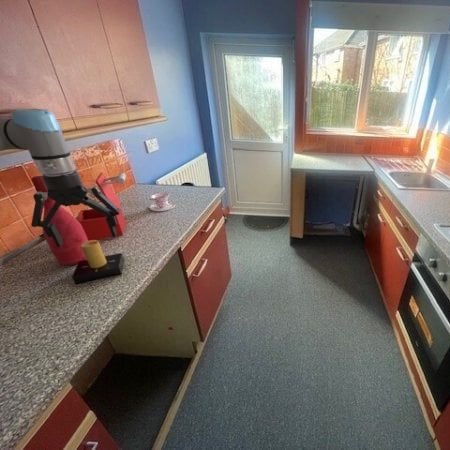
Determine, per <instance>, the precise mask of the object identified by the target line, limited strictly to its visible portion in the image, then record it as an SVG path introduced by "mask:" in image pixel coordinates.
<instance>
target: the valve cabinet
mask: <svg viewBox="0 0 450 450" xmlns="http://www.w3.org/2000/svg"><path fill="white" fill-rule="evenodd" d="M104 207H105V208H107V207H106V206H104ZM107 209H108V208H107ZM119 209H120V213H119V215H116V216H115V218H116V221H117V226H115V229H116V232H117V235H116V237H120V236H124V234H125V229H126V224H127V222H126V220H125V217H124V213H123V210H122V207H121V206H120V207H119ZM75 218H76V219H77V220H78V222H79V223H80V224H81V226H82V227H83V229H84V232H85V234H86V236H87V239H88V241H90V240H102V239H103V240H104V239H108V238H114V237H113V236H112V234H111V231H110V228H109V226H108V223H107V221H106V218H107V216H105V215H103V214H101V213H100V212H98V211H96V210H94V209H92V208H88V209H82V210H80V211H79V212H78V214H77V216H76V217H75Z"/></svg>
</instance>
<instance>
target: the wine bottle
mask: <svg viewBox="0 0 450 450" xmlns="http://www.w3.org/2000/svg"><path fill="white" fill-rule="evenodd" d="M41 177H42V175H36V176H32V178H31V183H32V184H33V187H34V189H35V191H36V192H38V191H41V192H42V193H46V192H48V190H47V188H46V186H45V184H44V182H43V180H42V178H41ZM55 202H56V201H54V200H52V199H51V198H49V197H47V199H46V200H45V202H44V207H43V215H42V221H44V220H45V218H46V216H47V215H48V213H49V212H50V210H51V208H52V207H53V205H54V203H55ZM53 223H54V224H55V226H56V228H57V230H58V232H59V234H60V236H61V238H62V240H63V244H62V245H61V247H57V246H56V244H55V242H54V240H53V238H52V237H48V236H47V235H46V233H45V231H44V229H43V228H42V234H43V237H44V240H45V241H46V243H47V245H48V247H49V249H50V250H51V252H52V254H53V256H54V257H55V259H56V260H57V262H58V263H59V265H62V266H71V265H78V262H79V261H83V260H87V259H86V256H85V254H84V252H83V250H82V248H81V244H82V243H84V242H86V241H88V239H87V236H86V234H85V232H84V229H83V227H82V226H81V224H80V223H79V222H78V220H77V219H76V217H75V216H74V215H72V214H71V212H69V211H67V210H66V209H65V208H64V207H63V206H62V205H61V206H60V208H59V209H58V211H57V212H56V214H55V215H54V217H53V219H52V220H51V222H50V223H49V224H53Z"/></svg>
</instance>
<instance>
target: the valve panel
mask: <svg viewBox="0 0 450 450" xmlns="http://www.w3.org/2000/svg"><path fill="white" fill-rule="evenodd" d="M104 256H105V259H106V261H107V263H106V264H105V265H103V266H101V267H99V268H91V267H90V265H89V263H88V261H87V260H83V261H79V262H78V263H77V264H76V266H75V269H74V270H73V271H74V272H73V274H72V276H71V279H72V281H73V282H74V285H76V286H78V285H81V284H86V283H90V282H91V283H92V282H94V281H99V280H105V279H108V278H112V277H118V276H122V274H123V271H124V263H125V258H124V257H125V256H124V255H123V252H119V253H114V254H109V255H104Z"/></svg>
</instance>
